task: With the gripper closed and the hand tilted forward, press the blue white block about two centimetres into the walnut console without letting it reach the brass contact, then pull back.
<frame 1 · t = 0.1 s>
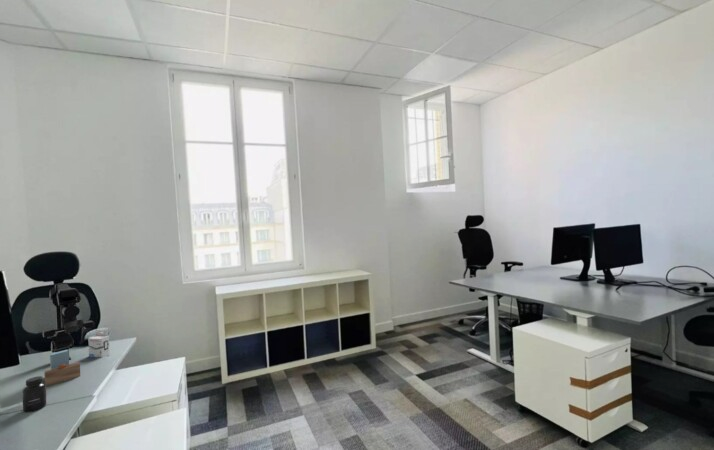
hand: (70, 345, 159), 15 cm above the table, tool pointing down, fingers open, 9 cm apart
key console: (61, 379, 155), on the table
blue white block: (59, 363, 157), point 7 cm above the table, slide at 0.0 cm
supplement bottle: (35, 408, 130), on the table
ink box: (99, 357, 180), on the table
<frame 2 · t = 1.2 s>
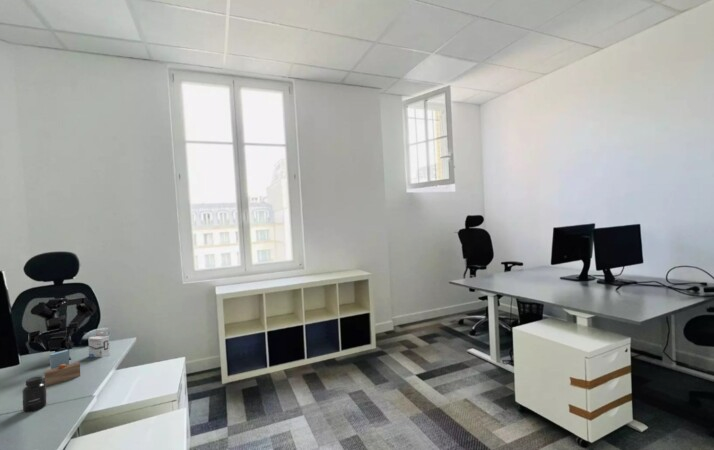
hand: (56, 345, 163), 13 cm above the table, tool tilted 45°, fingers open, 8 cm apart
nothing on the table moved.
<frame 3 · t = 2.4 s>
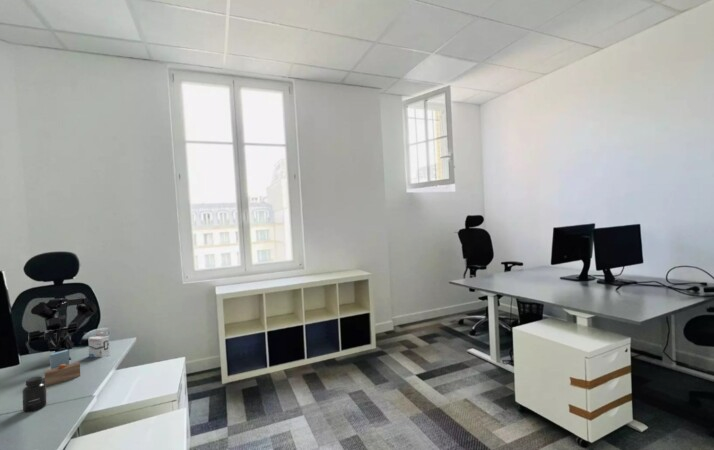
hand: (56, 345, 163), 13 cm above the table, tool tilted 45°, fingers closed
nothing on the table moved.
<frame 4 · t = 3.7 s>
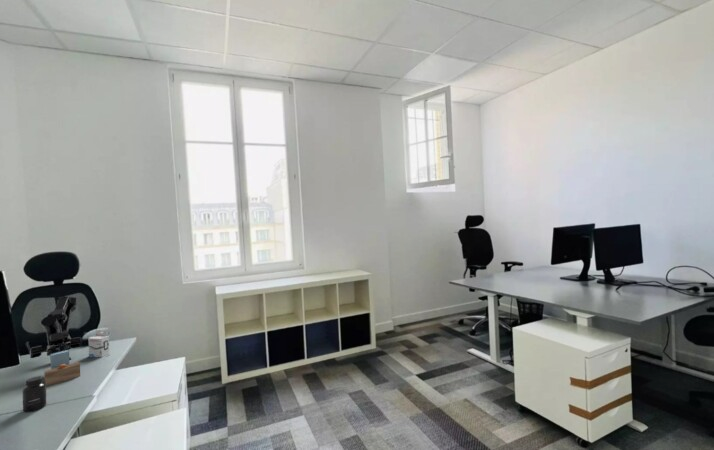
hand: (58, 361, 158), 7 cm above the table, tool tilted 45°, fingers closed, pressing on blue white block
blue white block: (59, 363, 157), point 7 cm above the table, slide at 1.0 cm, touching gripper
everything else where it was.
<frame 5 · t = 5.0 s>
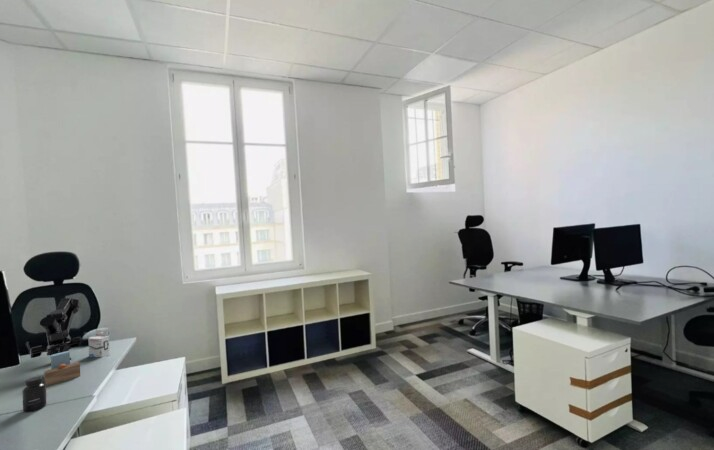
hand: (59, 361, 160), 7 cm above the table, tool tilted 45°, fingers closed
blue white block: (60, 364, 156), point 7 cm above the table, slide at 2.6 cm
everything else where it was.
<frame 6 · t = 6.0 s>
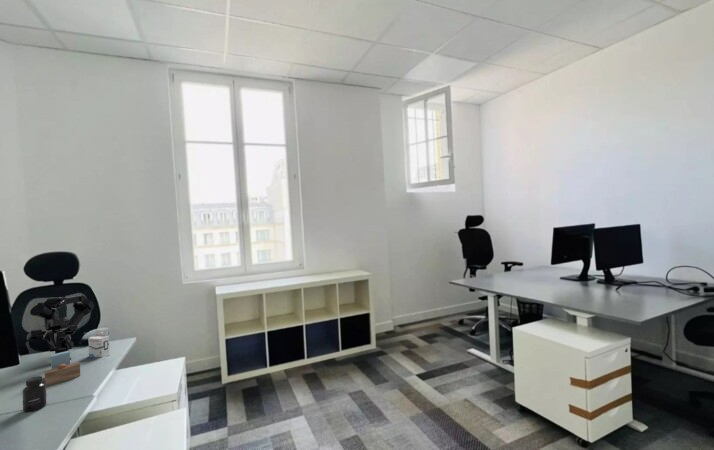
hand: (55, 347, 163), 13 cm above the table, tool tilted 40°, fingers closed
nothing on the table moved.
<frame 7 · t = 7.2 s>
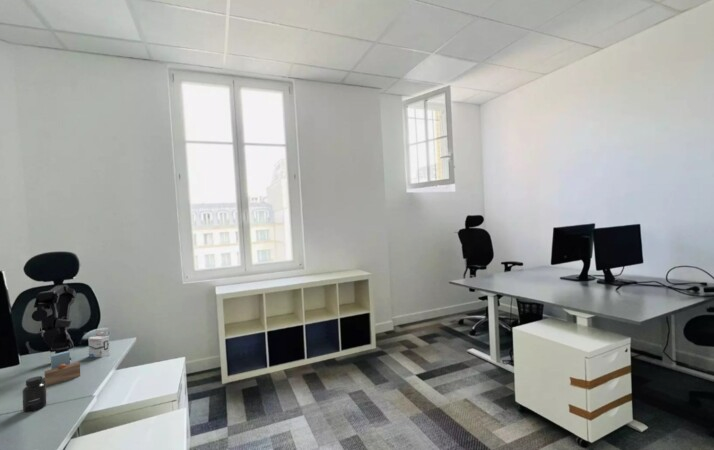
hand: (50, 346, 163), 13 cm above the table, tool pointing down, fingers closed
nothing on the table moved.
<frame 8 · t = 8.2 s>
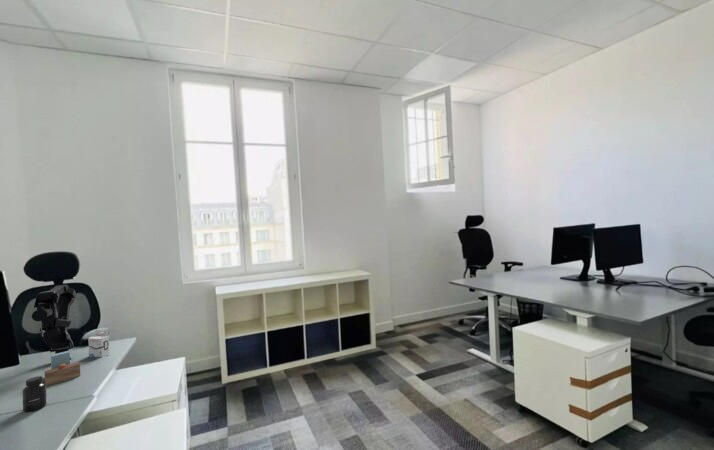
hand: (50, 346, 163), 13 cm above the table, tool pointing down, fingers closed
nothing on the table moved.
at the end: blue white block slide at 2.6 cm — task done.
